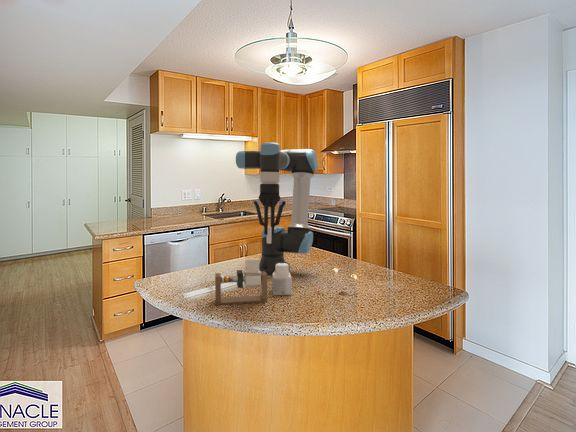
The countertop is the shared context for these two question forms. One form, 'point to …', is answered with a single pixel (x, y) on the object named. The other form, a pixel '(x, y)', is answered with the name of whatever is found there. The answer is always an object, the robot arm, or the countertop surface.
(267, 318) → the countertop surface
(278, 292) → the container
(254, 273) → the stepped block with cap
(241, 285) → the dark grey block
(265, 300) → the rod stand
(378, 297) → the countertop surface
